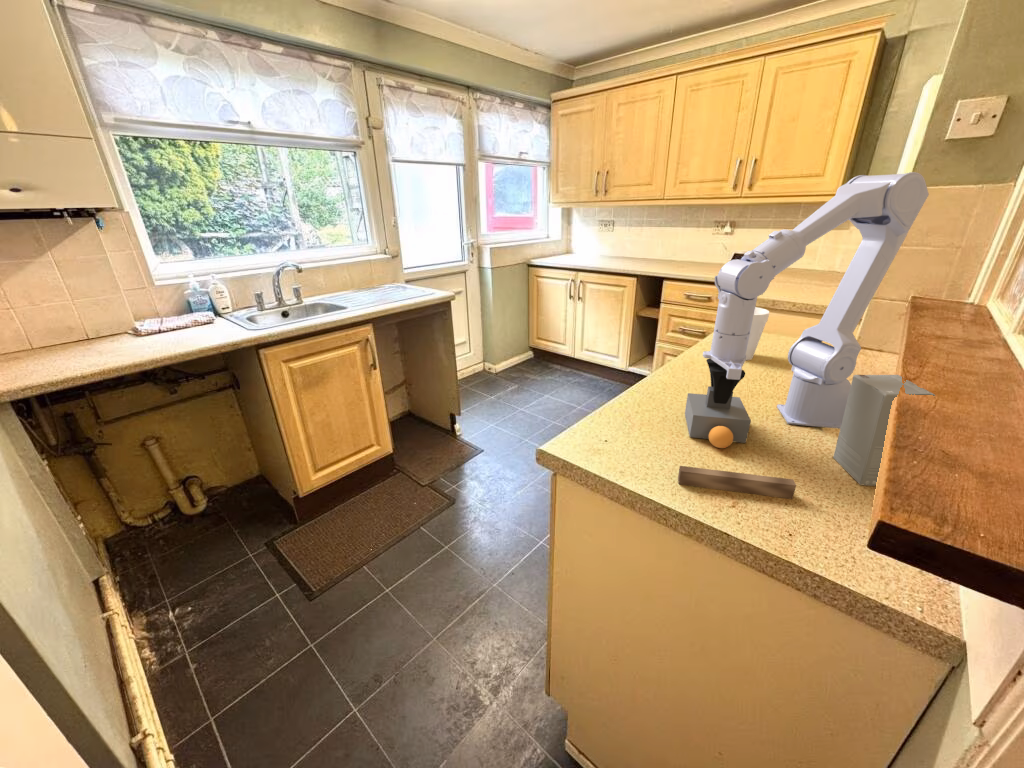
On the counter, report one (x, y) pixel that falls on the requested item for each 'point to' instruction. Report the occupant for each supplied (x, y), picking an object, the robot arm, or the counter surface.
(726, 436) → the ball
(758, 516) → the counter surface
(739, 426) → the grey stemmed block
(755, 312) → the foam cup
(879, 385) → the skincare box
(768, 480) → the stopper
